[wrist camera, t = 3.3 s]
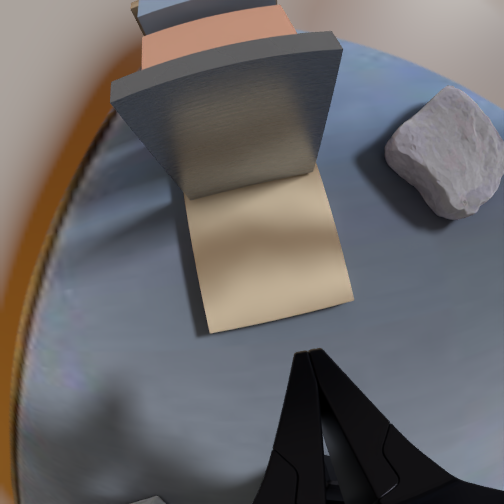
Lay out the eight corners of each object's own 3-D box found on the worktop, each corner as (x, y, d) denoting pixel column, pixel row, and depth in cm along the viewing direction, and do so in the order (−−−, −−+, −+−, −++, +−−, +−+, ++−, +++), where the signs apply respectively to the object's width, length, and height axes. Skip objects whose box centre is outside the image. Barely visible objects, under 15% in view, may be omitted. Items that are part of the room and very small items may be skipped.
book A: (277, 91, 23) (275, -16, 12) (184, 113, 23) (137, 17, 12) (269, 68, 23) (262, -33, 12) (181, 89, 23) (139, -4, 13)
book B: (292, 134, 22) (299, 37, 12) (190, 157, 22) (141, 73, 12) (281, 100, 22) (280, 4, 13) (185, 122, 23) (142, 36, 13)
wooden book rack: (350, 300, 21) (420, 297, 10) (213, 331, 21) (152, 359, 10) (275, 65, 24) (272, -31, 13) (173, 89, 25) (131, 2, 14)
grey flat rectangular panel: (313, 172, 21) (343, 49, 9) (190, 200, 21) (109, 102, 9) (308, 157, 21) (331, 31, 9) (188, 185, 21) (111, 82, 10)
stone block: (489, 169, 23) (434, 92, 23) (519, 159, 18) (459, 72, 18) (436, 242, 23) (368, 152, 23) (470, 241, 18) (394, 132, 18)
